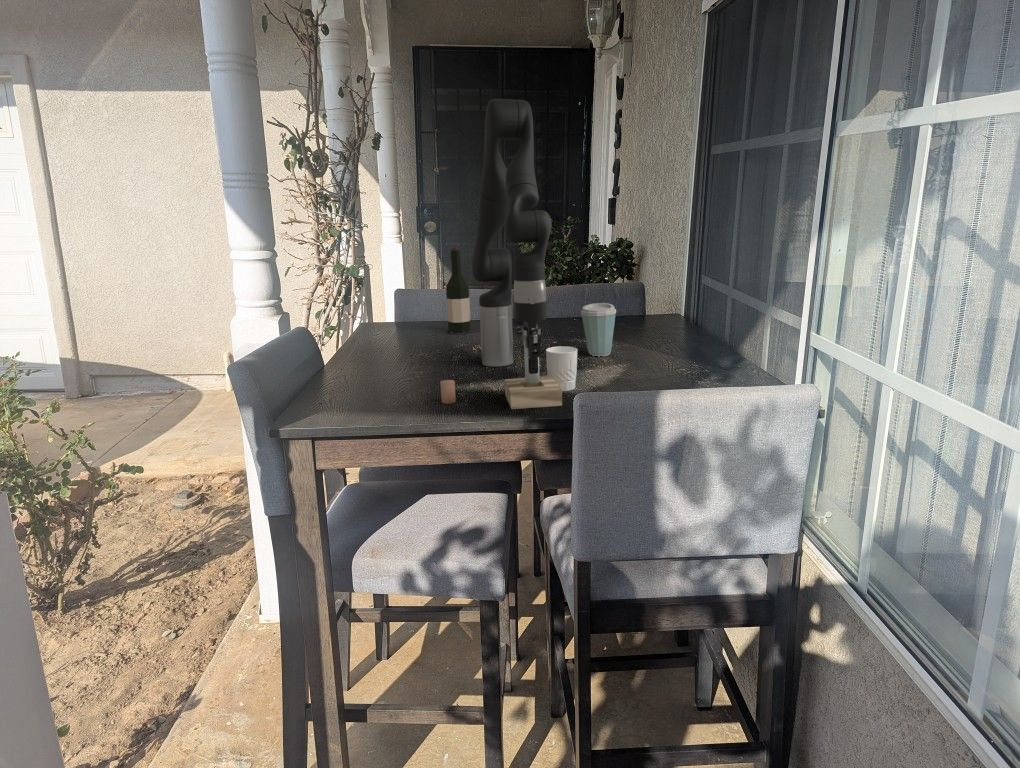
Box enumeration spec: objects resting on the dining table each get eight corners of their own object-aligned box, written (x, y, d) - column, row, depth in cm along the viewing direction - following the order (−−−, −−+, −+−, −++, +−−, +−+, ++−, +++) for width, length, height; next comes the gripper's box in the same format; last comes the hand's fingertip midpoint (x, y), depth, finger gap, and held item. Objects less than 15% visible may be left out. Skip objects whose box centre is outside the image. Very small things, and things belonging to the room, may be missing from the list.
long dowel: (524, 380, 171) (523, 339, 169) (538, 379, 172) (537, 339, 169) (526, 384, 168) (525, 342, 165) (540, 383, 168) (539, 341, 166)
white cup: (575, 383, 185) (575, 345, 182) (579, 391, 177) (579, 352, 174) (545, 384, 184) (544, 346, 182) (548, 392, 177) (547, 353, 174)
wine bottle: (446, 330, 261) (441, 247, 253) (468, 328, 263) (464, 246, 255) (451, 335, 253) (446, 249, 245) (473, 332, 255) (469, 248, 247)
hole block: (504, 395, 176) (504, 379, 175) (552, 391, 178) (552, 376, 176) (511, 409, 165) (510, 392, 164) (562, 405, 166) (561, 389, 165)
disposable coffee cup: (615, 358, 209) (615, 308, 205) (578, 358, 211) (578, 308, 208) (617, 350, 219) (617, 302, 215) (582, 350, 221) (582, 302, 218)
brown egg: (441, 400, 174) (440, 380, 173) (455, 399, 174) (454, 379, 173) (441, 403, 171) (440, 383, 170) (456, 402, 171) (454, 382, 170)
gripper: (510, 296, 171) (512, 365, 176) (518, 304, 158) (520, 379, 162) (540, 294, 172) (542, 363, 176) (551, 302, 158) (553, 377, 163)
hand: (532, 371), depth 169 cm, fingers closed on long dowel, 3 cm apart
